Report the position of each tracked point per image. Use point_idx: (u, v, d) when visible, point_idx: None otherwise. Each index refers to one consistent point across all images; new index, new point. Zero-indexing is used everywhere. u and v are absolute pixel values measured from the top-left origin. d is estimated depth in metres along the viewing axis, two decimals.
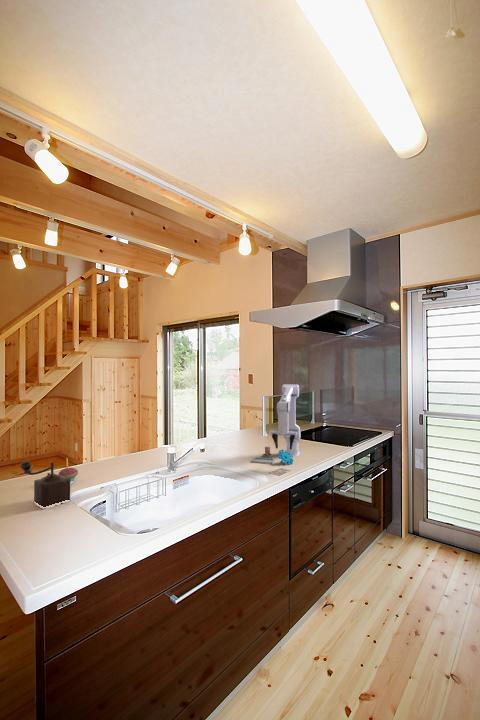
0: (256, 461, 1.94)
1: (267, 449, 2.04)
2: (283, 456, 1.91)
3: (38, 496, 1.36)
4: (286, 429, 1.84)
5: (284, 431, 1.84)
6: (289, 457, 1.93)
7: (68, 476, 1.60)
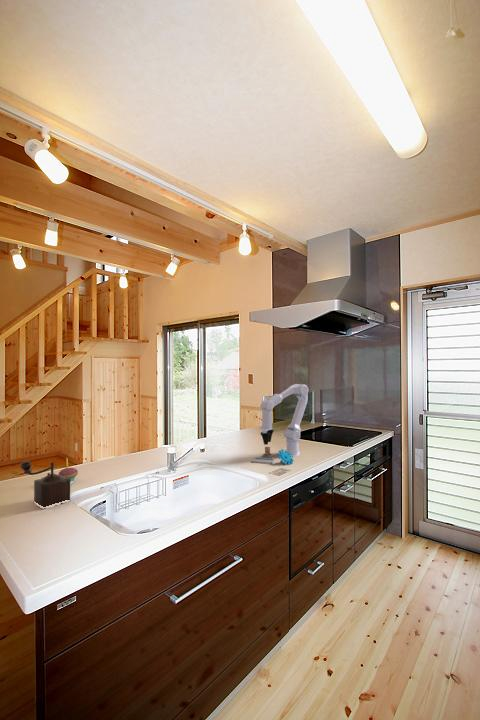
0: (256, 461, 1.94)
1: (267, 449, 2.04)
2: (283, 456, 1.92)
3: (38, 496, 1.36)
4: (263, 425, 2.04)
5: (262, 426, 2.05)
6: (289, 457, 1.93)
7: (68, 476, 1.60)
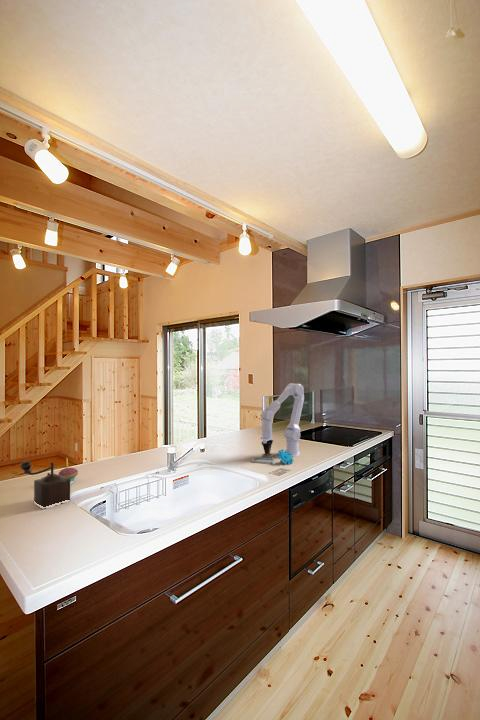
0: (256, 461, 1.94)
1: None
2: (283, 456, 1.92)
3: (38, 496, 1.36)
4: (263, 435, 2.04)
5: None
6: (289, 457, 1.93)
7: (68, 476, 1.60)
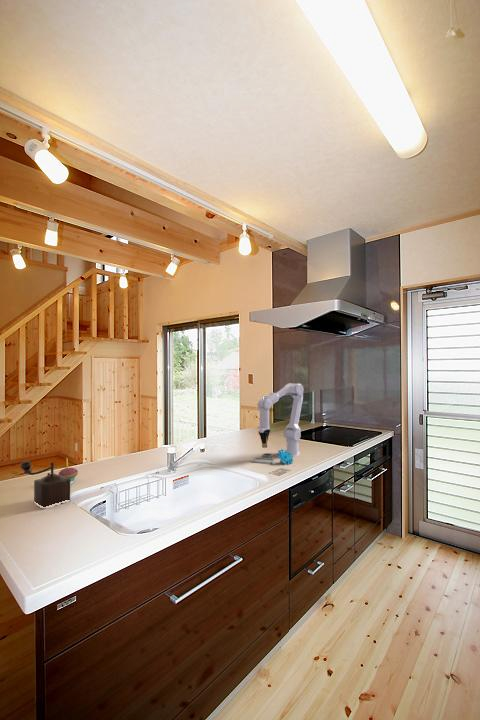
0: (256, 461, 1.94)
1: None
2: (282, 456, 1.92)
3: (38, 496, 1.36)
4: (260, 424, 2.00)
5: None
6: (289, 457, 1.94)
7: (68, 476, 1.60)
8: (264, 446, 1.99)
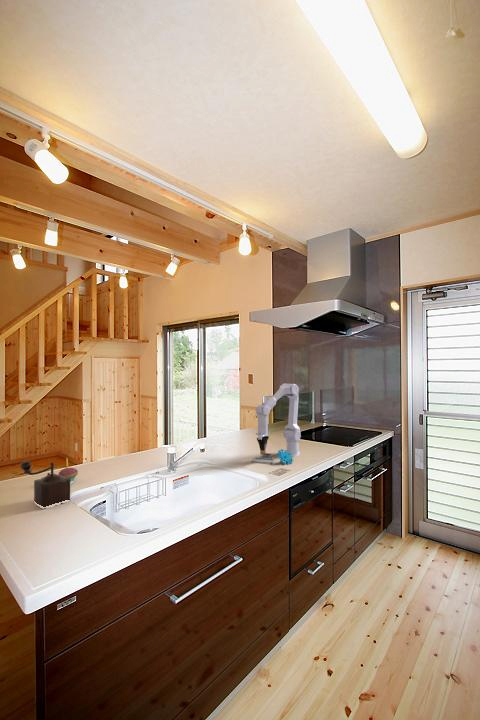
0: (256, 461, 1.94)
1: None
2: (282, 456, 1.92)
3: (38, 496, 1.36)
4: (258, 431, 1.96)
5: (258, 432, 1.97)
6: (289, 457, 1.94)
7: (68, 476, 1.60)
8: (262, 453, 1.96)
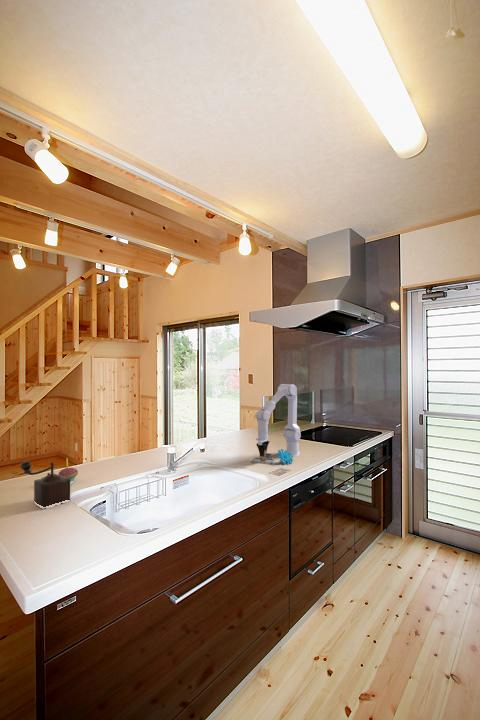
0: (256, 461, 1.94)
1: None
2: (282, 456, 1.92)
3: (38, 496, 1.36)
4: (258, 436, 1.96)
5: (258, 437, 1.97)
6: (288, 457, 1.94)
7: (68, 476, 1.60)
8: (262, 460, 1.96)
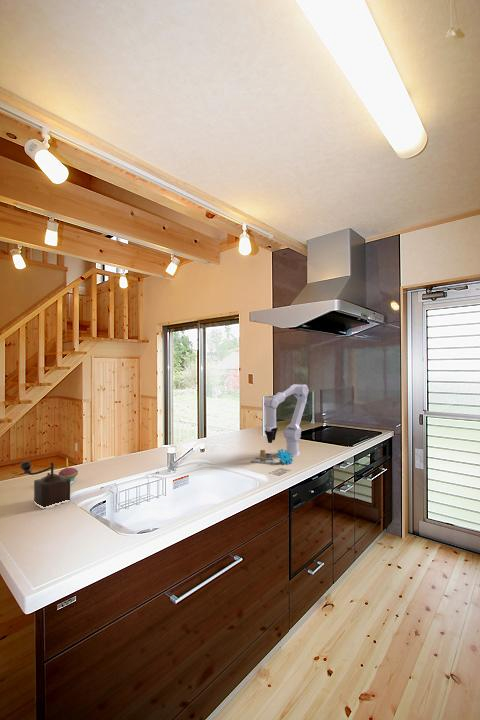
0: (256, 461, 1.94)
1: (262, 452, 1.96)
2: (282, 456, 1.93)
3: (38, 496, 1.36)
4: (267, 423, 2.01)
5: (266, 425, 2.03)
6: (288, 457, 1.94)
7: (68, 476, 1.60)
8: (262, 460, 1.96)
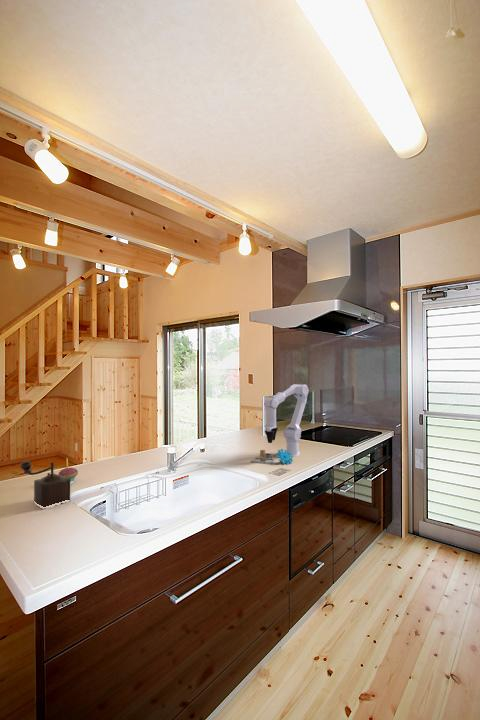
0: (256, 461, 1.94)
1: (262, 452, 1.96)
2: (282, 455, 1.93)
3: (38, 496, 1.36)
4: (267, 423, 2.01)
5: (266, 425, 2.03)
6: (288, 457, 1.94)
7: (68, 476, 1.60)
8: (262, 460, 1.96)
